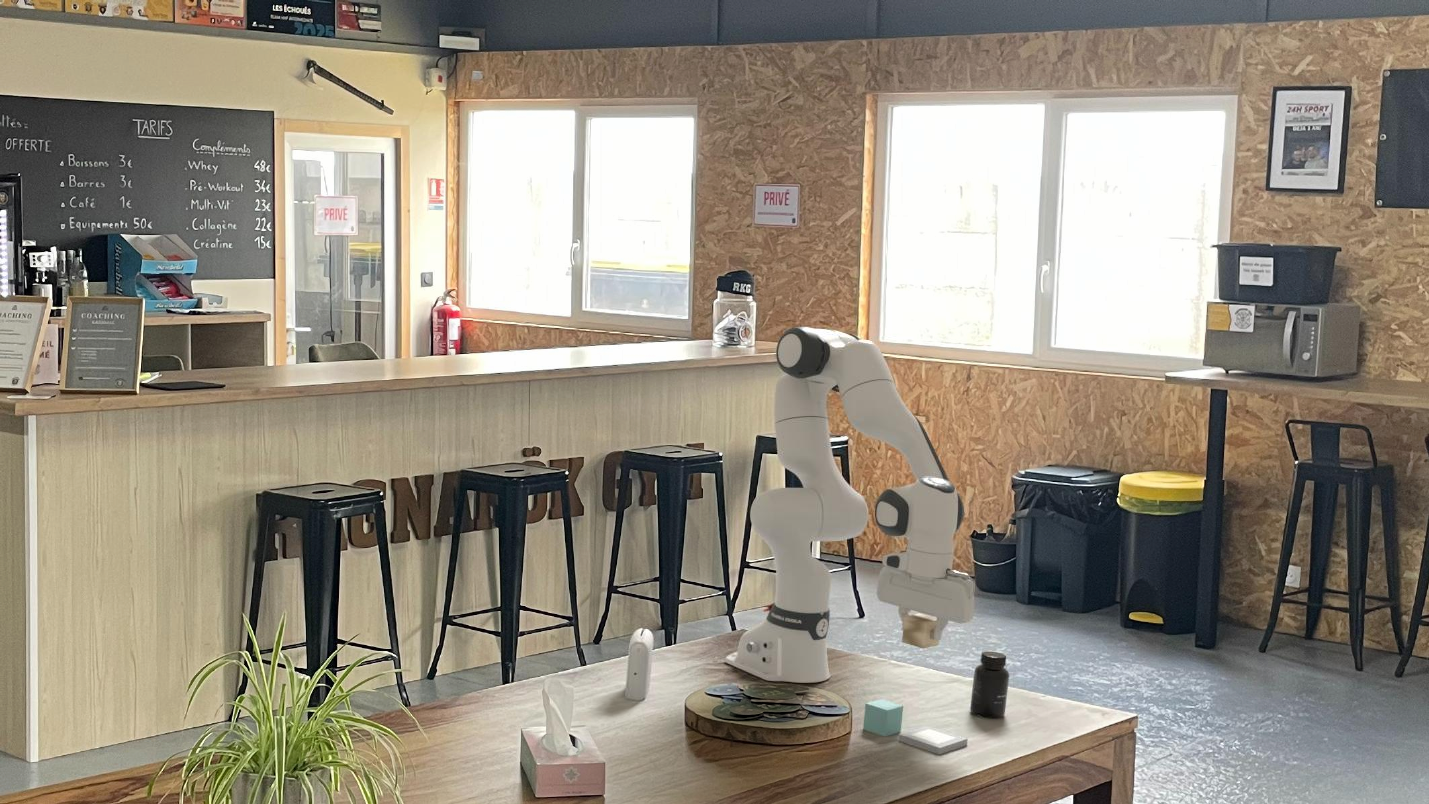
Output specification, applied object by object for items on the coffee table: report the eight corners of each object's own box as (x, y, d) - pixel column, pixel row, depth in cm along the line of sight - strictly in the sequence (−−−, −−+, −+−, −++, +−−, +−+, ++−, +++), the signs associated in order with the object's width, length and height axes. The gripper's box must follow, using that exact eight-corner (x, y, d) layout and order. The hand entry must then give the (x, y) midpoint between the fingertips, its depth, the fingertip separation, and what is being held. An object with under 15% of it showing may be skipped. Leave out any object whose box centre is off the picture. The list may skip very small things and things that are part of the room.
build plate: (898, 740, 289) (898, 734, 289) (926, 731, 296) (926, 725, 296) (939, 754, 284) (940, 747, 283) (966, 745, 290) (967, 738, 290)
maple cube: (901, 642, 301) (904, 616, 300) (916, 638, 304) (919, 613, 304) (923, 648, 297) (926, 622, 297) (938, 644, 301) (941, 619, 300)
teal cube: (863, 729, 295) (865, 703, 294) (878, 724, 298) (881, 698, 298) (884, 736, 291) (887, 710, 291) (900, 731, 295) (903, 705, 295)
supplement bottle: (1004, 721, 307) (1010, 661, 306) (969, 716, 308) (975, 656, 307) (1005, 711, 314) (1011, 652, 313) (970, 706, 315) (976, 647, 314)
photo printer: (645, 701, 300) (650, 638, 299) (623, 699, 300) (628, 636, 299) (651, 686, 310) (656, 625, 309) (629, 684, 310) (634, 622, 309)
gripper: (984, 573, 294) (976, 646, 296) (895, 551, 308) (887, 620, 310) (966, 577, 290) (958, 651, 291) (875, 554, 303) (868, 624, 305)
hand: (921, 635), depth 301 cm, fingers closed on maple cube, 5 cm apart
